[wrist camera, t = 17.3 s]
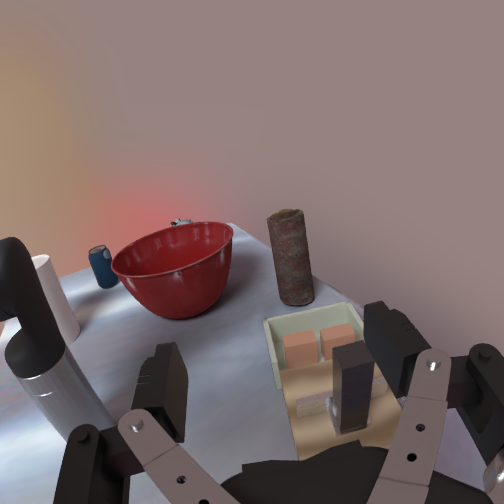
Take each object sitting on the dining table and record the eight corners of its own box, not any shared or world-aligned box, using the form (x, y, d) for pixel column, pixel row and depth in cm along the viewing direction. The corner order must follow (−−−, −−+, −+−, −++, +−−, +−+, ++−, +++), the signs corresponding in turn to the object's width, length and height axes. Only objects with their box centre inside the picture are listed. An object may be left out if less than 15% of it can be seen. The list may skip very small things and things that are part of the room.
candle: (292, 314, 65) (279, 221, 57) (273, 300, 71) (258, 213, 63) (321, 299, 68) (312, 209, 60) (300, 287, 74) (290, 203, 66)
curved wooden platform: (408, 448, 32) (414, 433, 30) (303, 480, 32) (301, 467, 30) (366, 367, 48) (368, 349, 46) (281, 388, 47) (279, 371, 46)
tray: (371, 366, 47) (373, 338, 45) (276, 389, 47) (271, 362, 45) (349, 326, 58) (348, 300, 55) (267, 345, 58) (262, 319, 55)
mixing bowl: (110, 329, 70) (86, 271, 64) (172, 272, 94) (158, 223, 88) (212, 349, 59) (190, 278, 53) (262, 275, 83) (252, 218, 76)
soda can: (124, 279, 94) (111, 244, 90) (109, 291, 89) (95, 254, 84) (110, 277, 98) (98, 243, 93) (95, 288, 92) (82, 253, 87)
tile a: (316, 340, 48) (312, 329, 50) (284, 347, 48) (282, 335, 51) (318, 363, 50) (314, 352, 52) (288, 370, 50) (285, 358, 53)
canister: (28, 350, 65) (-7, 281, 57) (56, 320, 77) (28, 256, 69) (59, 357, 61) (21, 280, 53) (89, 324, 73) (59, 252, 65)
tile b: (355, 333, 47) (349, 322, 50) (324, 340, 47) (319, 329, 50) (354, 356, 49) (348, 345, 52) (325, 363, 49) (321, 352, 52)
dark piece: (397, 417, 33) (412, 348, 28) (304, 444, 33) (297, 380, 28) (383, 389, 38) (391, 320, 33) (296, 413, 38) (287, 346, 33)
